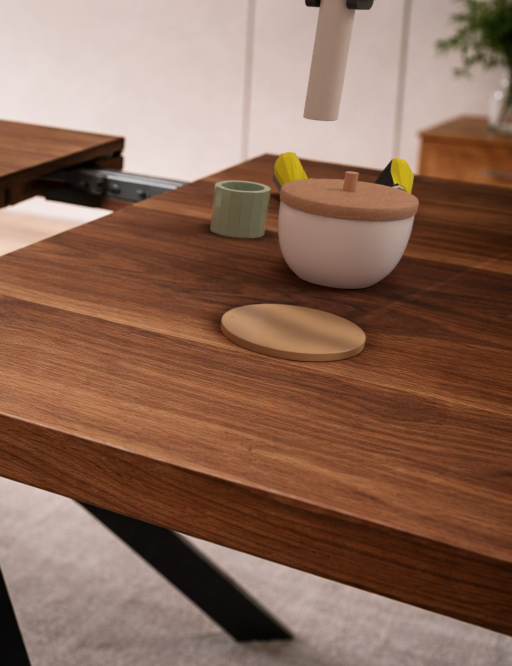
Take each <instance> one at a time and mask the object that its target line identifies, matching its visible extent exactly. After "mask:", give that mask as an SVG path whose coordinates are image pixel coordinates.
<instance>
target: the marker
mask: <svg viewBox="0 0 512 666" xmlns="http://www.w3.org/2000/svg"><path fill="white" fill-rule="evenodd" d="M346 1H347V0H321V2H320V7H318V9H319V10H318V15H317V21H316V27H315V28H316V29H315V35H314V42H313V49H312V55H311V62H310V68H309V75H308V82H307V87H306V88H307V89H306V94H305V102H304V108H303V115H302V116H303V118H304V119H305V120H311V121H317V122H318V121H319V122H335V121H338V119H339V114H340V107H341V101H342V95H343V88H344V82H345V76H346V70H347V63H348V58H349V52H350V47H351V46H350V45H351V40H352V33H353V29H354V21H355V15H356V10H354V9H348V8H347V6H346Z"/></svg>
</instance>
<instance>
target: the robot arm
mask: <svg viewBox="0 0 512 666" xmlns="http://www.w3.org/2000/svg"><path fill="white" fill-rule="evenodd" d="M374 1H375V0H347V1H346V6H347V8H348V9H354V10H355V11H369V10H371V9H372V8H373V5H374ZM320 2H321V0H304V5H305V6H306V7H308V8H320Z"/></svg>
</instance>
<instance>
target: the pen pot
mask: <svg viewBox="0 0 512 666" xmlns="http://www.w3.org/2000/svg"><path fill="white" fill-rule="evenodd" d="M271 192H272V188H271V187H270V186H269V185H266V184H264V183H260V182H255V181H248V180H233V179H232V180H221V181H217V182H216V183H214V189H213V197H212V206H211V214H210V225H209V229H210V232H212V233H215V234H216V235H219V236H224V237H227V238H228V237H229V238H237V239H254V238H261V237H263V236H264V235H265V233H266V229H267V221H268V214H269V206H270V199H271Z"/></svg>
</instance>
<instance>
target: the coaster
mask: <svg viewBox="0 0 512 666" xmlns="http://www.w3.org/2000/svg"><path fill="white" fill-rule="evenodd" d="M220 330H221V333H222V334H223V335H224V336H225V337H226V339H228V340H229V341H231V342H232V343H234V344H236V345H237V346H240V347H242V348H244V349H247V350H249V351H252V352H255V353H258V354H261V355H265V356H268V357H274V358H279V359H284V360H290V361H300V362H333V361H341V360H346V359H350V358H352V357H355V356H357V355H358V354H360V353H361V352H362V351H363V350H364V348H365V345H366V338H367V336H366V334H365V332H364V331H363V329H362V328H361V327H360V326H358V325H357V324H356V323H354V322H352V321H350V320H348V319H346V318H344V317H342V316H340V315H336V314H334V313H330V312H328V311H324V310H321V309H317V308H311V307H306V306H299V305H292V304H282V303H260V304H259V303H258V304H257V303H256V304H255V303H254V304H248V305H241V306H238V307H233V308H231V309H230V310H228V311H226V312H224V314H223V315H222V317H221V320H220Z"/></svg>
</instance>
